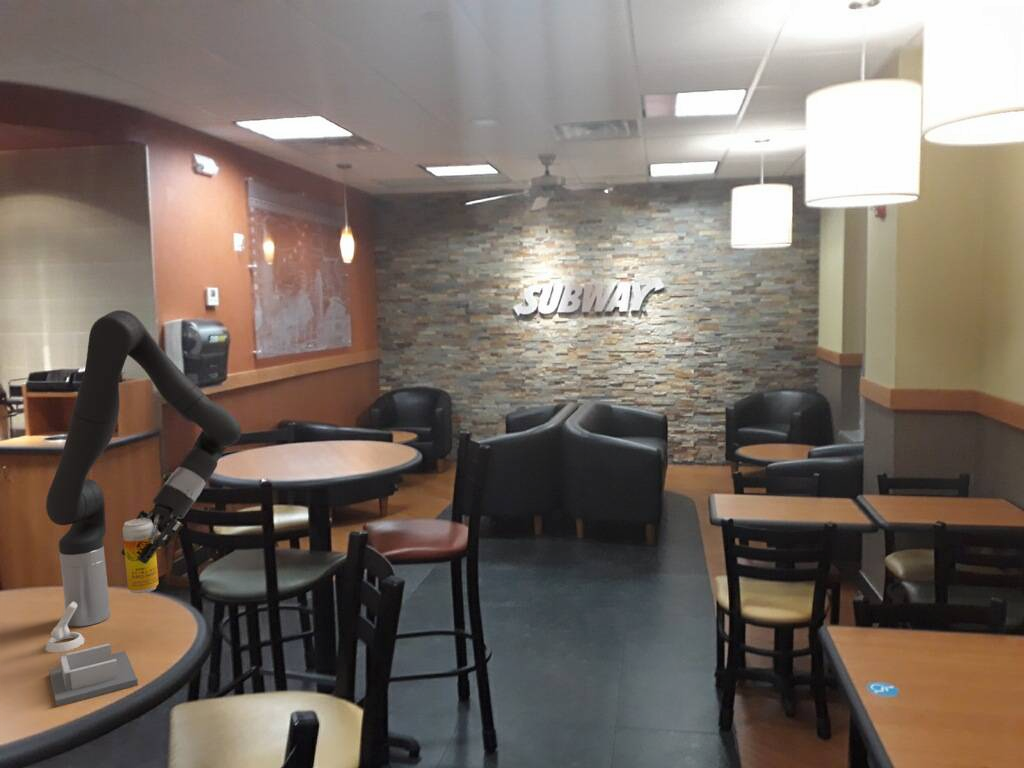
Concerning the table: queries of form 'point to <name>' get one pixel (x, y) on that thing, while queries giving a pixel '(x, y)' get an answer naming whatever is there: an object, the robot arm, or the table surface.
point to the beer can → (135, 541)
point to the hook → (64, 633)
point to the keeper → (91, 674)
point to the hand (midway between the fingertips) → (133, 558)
